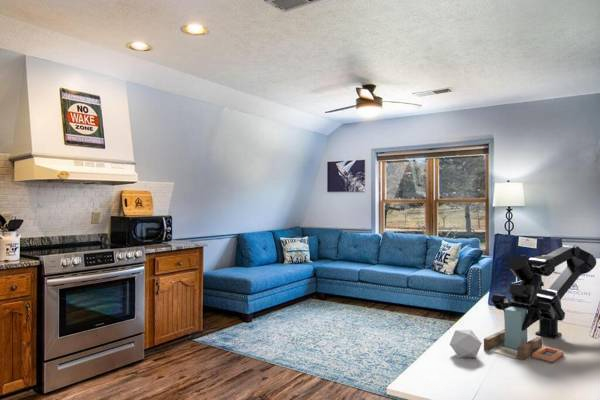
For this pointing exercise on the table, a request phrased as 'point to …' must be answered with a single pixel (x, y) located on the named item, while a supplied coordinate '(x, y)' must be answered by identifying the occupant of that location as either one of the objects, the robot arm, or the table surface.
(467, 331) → the die
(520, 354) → the channel
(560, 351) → the frame
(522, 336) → the block
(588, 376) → the table surface
